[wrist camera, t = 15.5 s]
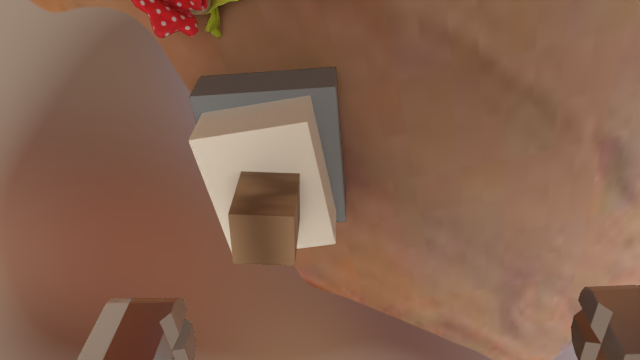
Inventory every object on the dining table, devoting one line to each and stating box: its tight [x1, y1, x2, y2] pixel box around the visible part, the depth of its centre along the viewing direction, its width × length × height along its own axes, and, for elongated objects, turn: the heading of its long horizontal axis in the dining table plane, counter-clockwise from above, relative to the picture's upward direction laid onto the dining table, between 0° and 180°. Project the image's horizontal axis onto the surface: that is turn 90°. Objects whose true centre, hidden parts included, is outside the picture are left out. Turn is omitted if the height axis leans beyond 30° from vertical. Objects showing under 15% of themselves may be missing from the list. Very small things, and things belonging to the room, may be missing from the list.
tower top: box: [189, 95, 336, 252], centre depth 47 cm, size 10×13×5 cm
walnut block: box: [228, 171, 300, 266], centre depth 42 cm, size 5×5×6 cm
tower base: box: [189, 67, 346, 222], centre depth 51 cm, size 13×15×5 cm
